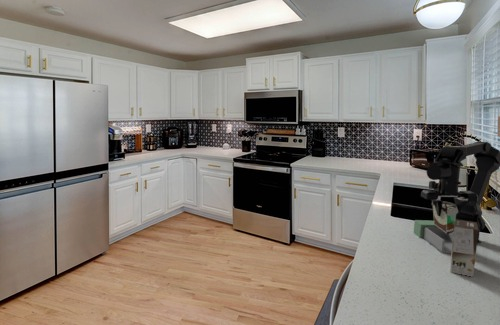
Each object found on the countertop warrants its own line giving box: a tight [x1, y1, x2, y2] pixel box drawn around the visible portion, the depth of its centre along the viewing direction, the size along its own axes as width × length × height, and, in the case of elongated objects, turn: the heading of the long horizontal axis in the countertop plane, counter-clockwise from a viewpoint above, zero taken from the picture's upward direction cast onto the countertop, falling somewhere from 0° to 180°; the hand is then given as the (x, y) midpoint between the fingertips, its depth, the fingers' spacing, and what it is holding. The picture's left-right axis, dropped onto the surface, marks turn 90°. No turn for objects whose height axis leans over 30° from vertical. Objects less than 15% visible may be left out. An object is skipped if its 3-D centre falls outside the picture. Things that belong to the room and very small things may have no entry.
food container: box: [431, 200, 458, 234], centre depth 118 cm, size 12×6×10 cm, turn 174°
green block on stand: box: [413, 219, 454, 254], centre depth 122 cm, size 12×21×6 cm, turn 175°
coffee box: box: [449, 220, 479, 278], centre depth 99 cm, size 9×6×16 cm
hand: (446, 216), depth 118 cm, fingers closed on food container, 6 cm apart
